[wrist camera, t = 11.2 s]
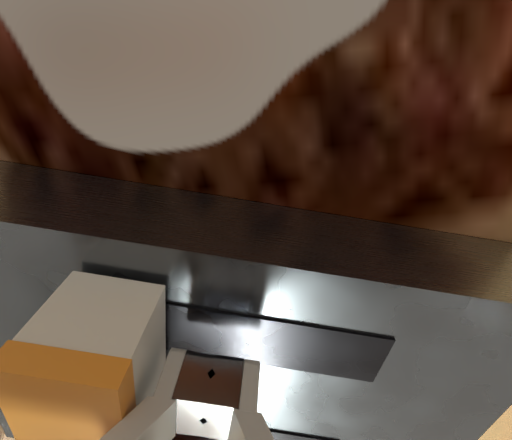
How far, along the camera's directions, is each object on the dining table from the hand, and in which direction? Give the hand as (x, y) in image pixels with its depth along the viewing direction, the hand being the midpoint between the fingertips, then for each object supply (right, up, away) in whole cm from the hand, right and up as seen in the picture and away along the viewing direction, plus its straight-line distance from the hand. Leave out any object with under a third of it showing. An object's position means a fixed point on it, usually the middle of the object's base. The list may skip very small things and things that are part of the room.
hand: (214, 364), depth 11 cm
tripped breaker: (-3, +1, +1) cm, 4 cm away
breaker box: (0, 0, +6) cm, 6 cm away
